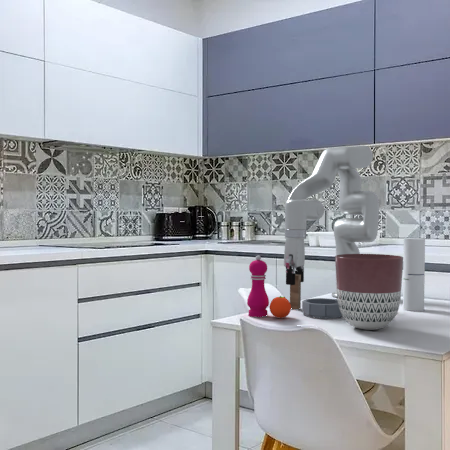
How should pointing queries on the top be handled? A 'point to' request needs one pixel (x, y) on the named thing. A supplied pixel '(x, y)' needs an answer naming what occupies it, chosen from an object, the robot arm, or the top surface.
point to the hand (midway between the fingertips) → (294, 283)
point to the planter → (368, 288)
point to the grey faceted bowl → (321, 308)
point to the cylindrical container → (413, 274)
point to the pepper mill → (258, 289)
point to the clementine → (280, 307)
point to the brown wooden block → (296, 293)
